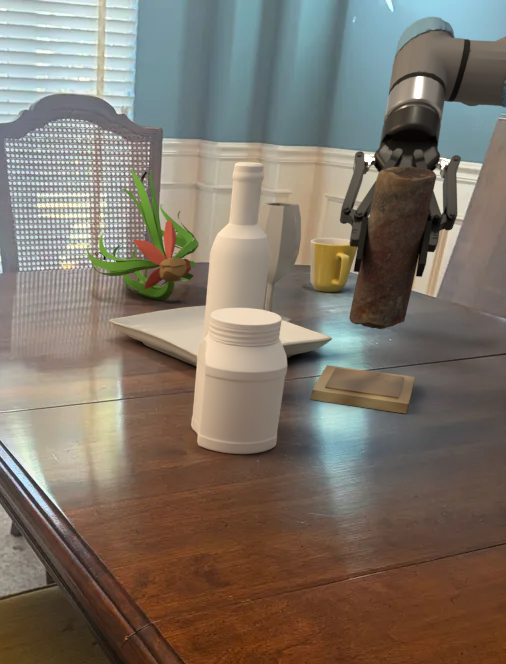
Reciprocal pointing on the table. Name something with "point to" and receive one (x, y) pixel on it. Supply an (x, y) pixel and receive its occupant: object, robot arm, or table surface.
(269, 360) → the jar
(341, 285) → the mug
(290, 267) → the wineglass
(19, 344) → the table surface
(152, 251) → the decorative plant
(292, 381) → the table surface
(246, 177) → the bottle
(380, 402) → the board
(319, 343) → the square plate
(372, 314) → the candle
